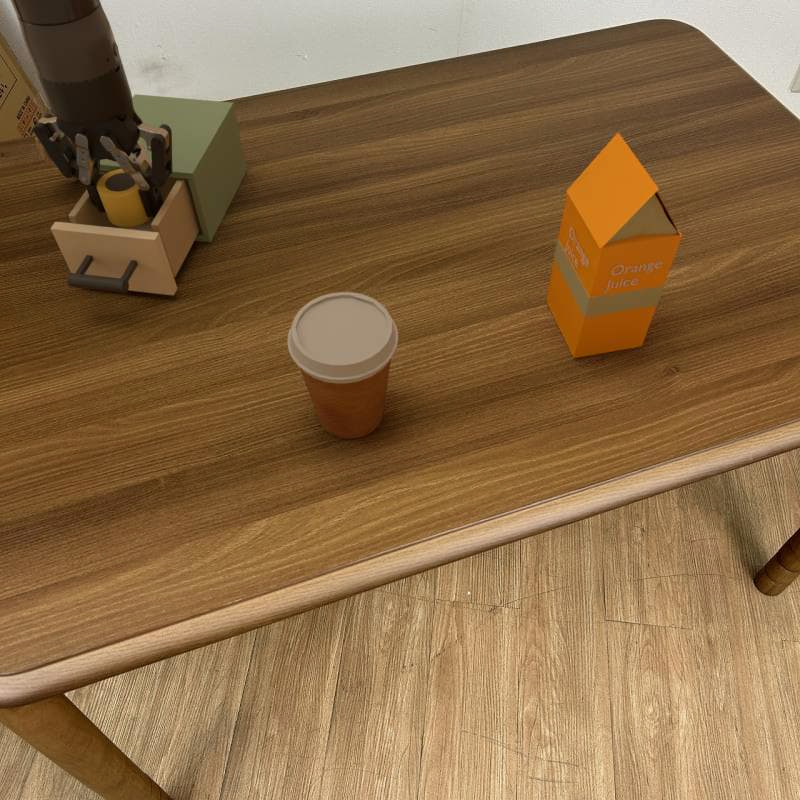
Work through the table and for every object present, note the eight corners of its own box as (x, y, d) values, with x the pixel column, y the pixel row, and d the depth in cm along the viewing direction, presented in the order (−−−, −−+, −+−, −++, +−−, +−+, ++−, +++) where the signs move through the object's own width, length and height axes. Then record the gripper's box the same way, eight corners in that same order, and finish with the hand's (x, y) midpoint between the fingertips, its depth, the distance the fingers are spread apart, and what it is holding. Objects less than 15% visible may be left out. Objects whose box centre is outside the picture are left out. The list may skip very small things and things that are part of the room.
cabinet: (211, 242, 88) (192, 173, 81) (111, 232, 90) (83, 163, 82) (247, 171, 97) (233, 102, 90) (155, 162, 99) (134, 94, 91)
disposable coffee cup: (419, 421, 71) (420, 336, 62) (335, 470, 68) (323, 387, 59) (364, 361, 76) (357, 273, 67) (283, 404, 73) (264, 317, 64)
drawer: (159, 323, 79) (138, 267, 73) (59, 311, 80) (30, 255, 74) (213, 218, 90) (199, 162, 83) (124, 209, 91) (103, 153, 85)
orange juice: (610, 289, 83) (658, 126, 67) (643, 346, 77) (703, 183, 62) (543, 300, 82) (575, 137, 66) (572, 359, 76) (614, 196, 61)
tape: (100, 225, 80) (88, 193, 77) (119, 197, 83) (107, 165, 80) (144, 229, 80) (133, 198, 76) (161, 201, 83) (151, 170, 80)
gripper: (-17, 72, 66) (54, 225, 80) (134, 85, 65) (181, 239, 78) (23, 33, 71) (84, 184, 84) (165, 44, 69) (204, 196, 83)
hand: (130, 210), depth 81 cm, fingers closed on tape, 5 cm apart
